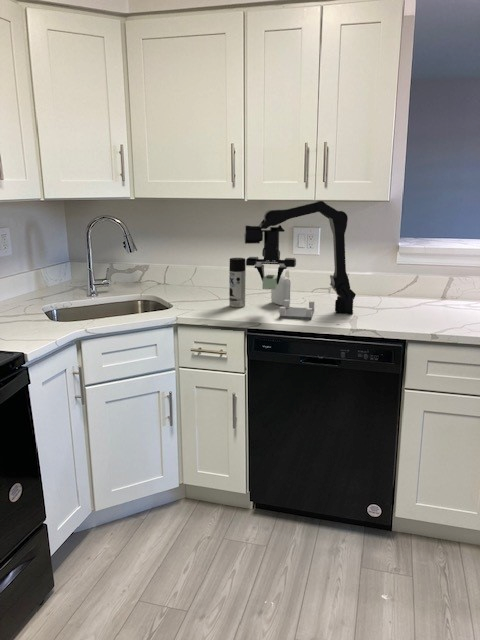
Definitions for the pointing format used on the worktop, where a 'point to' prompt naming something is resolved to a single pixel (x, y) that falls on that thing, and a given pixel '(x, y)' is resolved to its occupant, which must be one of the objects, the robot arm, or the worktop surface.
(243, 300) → the spray can
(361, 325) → the worktop surface
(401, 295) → the worktop surface
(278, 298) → the photo printer
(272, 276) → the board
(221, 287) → the worktop surface
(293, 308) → the chassis
